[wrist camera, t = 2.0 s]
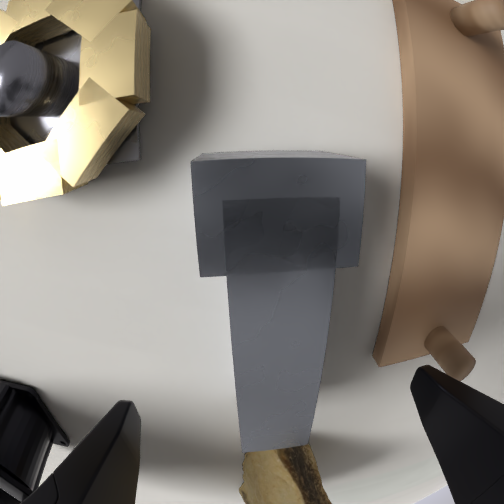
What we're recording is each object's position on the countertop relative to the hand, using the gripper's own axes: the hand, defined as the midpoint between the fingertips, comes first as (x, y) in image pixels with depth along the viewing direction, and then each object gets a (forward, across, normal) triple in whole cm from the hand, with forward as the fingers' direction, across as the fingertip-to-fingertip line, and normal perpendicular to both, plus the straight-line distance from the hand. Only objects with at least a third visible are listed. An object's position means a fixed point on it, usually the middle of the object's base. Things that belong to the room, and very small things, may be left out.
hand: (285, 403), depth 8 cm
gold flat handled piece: (+5, +8, -13) cm, 16 cm away
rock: (+6, 0, +15) cm, 16 cm away
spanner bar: (+6, 0, 0) cm, 6 cm away
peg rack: (+5, -10, -6) cm, 12 cm away
